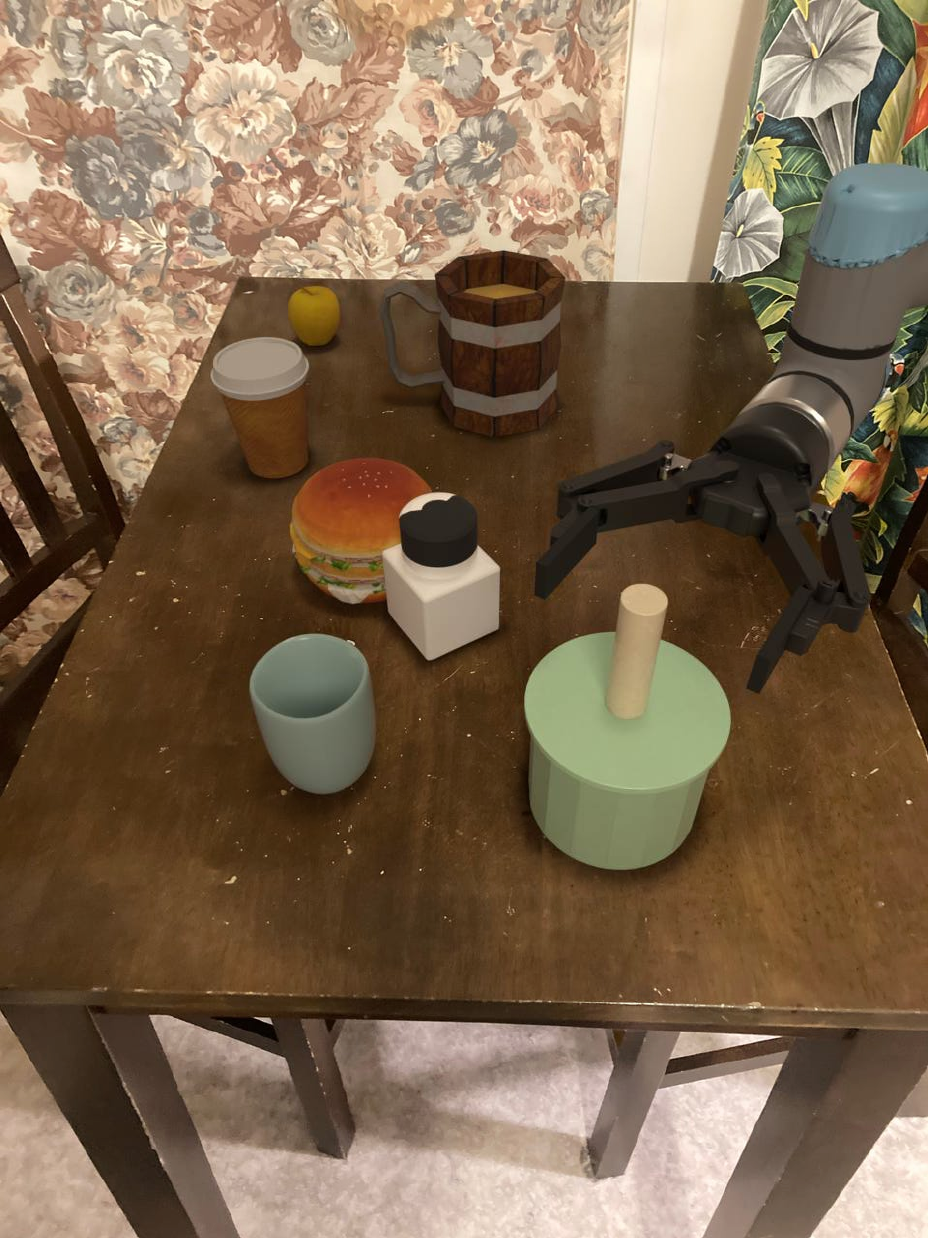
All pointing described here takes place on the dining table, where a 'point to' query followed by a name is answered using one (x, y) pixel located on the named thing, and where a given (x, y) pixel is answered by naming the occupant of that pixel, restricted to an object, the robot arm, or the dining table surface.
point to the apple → (314, 314)
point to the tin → (609, 817)
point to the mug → (490, 340)
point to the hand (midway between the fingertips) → (642, 626)
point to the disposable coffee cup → (266, 402)
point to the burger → (351, 525)
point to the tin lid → (628, 705)
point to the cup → (315, 711)
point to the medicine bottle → (441, 576)
